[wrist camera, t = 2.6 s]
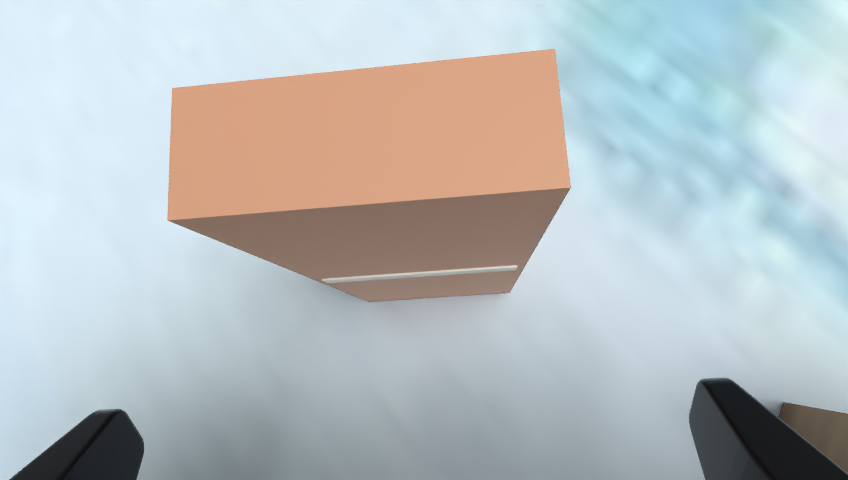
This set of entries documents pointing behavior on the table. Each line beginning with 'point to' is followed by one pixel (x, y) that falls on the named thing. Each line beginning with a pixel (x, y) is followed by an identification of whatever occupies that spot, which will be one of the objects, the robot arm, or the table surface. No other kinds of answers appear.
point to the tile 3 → (820, 430)
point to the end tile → (378, 172)
